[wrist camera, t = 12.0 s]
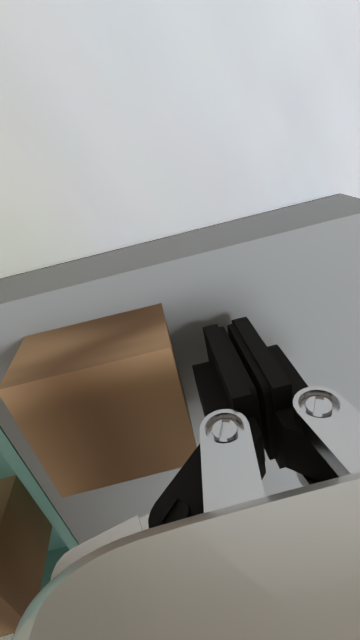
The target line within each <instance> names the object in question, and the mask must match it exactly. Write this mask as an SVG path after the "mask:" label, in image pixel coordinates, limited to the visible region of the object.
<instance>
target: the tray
mask: <svg viewBox="0 0 360 640" xmlns="http://www.w3.org/2000/svg"><path fill="white" fill-rule="evenodd" d="M14 475H17V476H18V478H19V479H20V481H21V482H22V484H23V485H24V486H25V488H26V489H27V491H28V492H29V493H30V495H31V496H32V498H33V499H34V500H35V502H36V503H37V505H38V506H39V507H40V509H41V510H42V512H43V513H44V514H45V516H46V517H47V519H48V520H49V522H50V523H51V524H52V531H51V536H50V541H49V546H48V552H47V557H46V562H45V567H44V572H43V578H42V583H41V588H40V591H41V590H42V589H43V588H44V587H45V586H46V585H47V584H48V583H49V582H50V581H51V575H52V572H53V570H54V568H55V566H56V563H57V562H58V561H59V560H60V558H61V557H62V556H63V555H64V554H65V553H66V552H68V551H69V550H71V549H72V548H74V547H76V546H77V545H79V543H78V541H77V540H76V538H75V537H74V535H73V534H72V532H71V531H70V529H69V528H68V526H67V525H66V523H65V522H64V520H63V519H62V517H61V516H60V514H59V513H58V511H57V510H56V508H55V507H54V505H53V504H52V502H51V501H50V499H49V498H48V496H47V495H46V493H45V492H44V490H43V489H42V487H41V486H40V484H39V483H38V481H37V480H36V478H35V477H34V475H33V474H32V472H31V471H30V469H29V468H28V466H27V465H26V463H25V462H24V460H23V459H22V457H21V456H20V454H19V453H18V451H17V450H16V448H15V447H14V445H13V444H12V442H11V441H10V439H9V438H8V436H7V435H6V433H5V432H4V430H3V429H2V427H1V426H0V479H3V478H7V477H10V476H14Z"/></svg>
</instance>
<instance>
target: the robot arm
mask: <svg viewBox="0 0 360 640" xmlns="http://www.w3.org/2000/svg"><path fill="white" fill-rule="evenodd" d="M227 329H228V334H227V332H226V330H225V328H224V326H221V327H218V325H217V324H214V325H210V326H206V327H203V333H204V338H205V343H206V349H207V354H208V359H209V361H208V362H204V363H200V364H196V365H192V369H193V373H194V377H195V382H196V386H197V390H198V394H199V398H200V402H201V405H202V409H203V412H204V416H205V418H204V419H203V421H202V423H201V424H200V444H199V445H198V447H197V448H196V449H195V451H194V452H193V453H192V455H191V456H190V457H189V459H188V460H187V461H186V462H185V464H184V465H183V466H182V468H181V469H180V470H179V472H178V473H177V474H176V476H175V477H174V478H173V480H172V481H171V482H170V484H169V485H168V486H167V488H166V489H165V490H164V492H163V493H162V494H161V496H160V497H159V498H158V500H157V501H156V502H155V504H154V506H153V507H152V509H151V511H150V513H149V514H147V515H145V516H143V517H141V518H139V517H138V515H136V516H134V517H132V518H130V519H128V520H126V521H124V522H122V523H120V524H119V525H117V526H115V527H113V528H111V529H109V530H107V531H105V532H103V533H101V534H99V535H97V536H95V537H93V538H91V539H89V540H87V541H85V542H83V543H81V544H79V545H77V546H76V547H74V548H72V549H71V550H69V551H68V552H66V553H65V554H64V555H63V556H62V557H61V558H60V560H59V561H58V562H57V563H56V566H55V568H54V570H53V572H52V575H51V581H50V582H49V583H48V584H47V585H46V586H45V587H44V588H43V589H42V590H41V591H40V592H39V593H38V594H37V595H36V596H35V598H34V599H33V600H32V601H31V603H30V604H29V606H28V607H27V609H26V610H25V612H24V614H23V616H22V617H21V619H20V621H19V623H18V626H17V628H16V631H15V633H14V635H13V638H12V640H360V412H359V411H358V410H357V409H356V408H354V407H353V406H352V405H351V404H350V403H349V402H348V401H347V400H346V399H344V398H343V397H342V396H341V395H340V394H338V393H337V392H336V391H334V390H332V389H329V388H326V387H320V386H311V387H308V385H307V384H306V383H305V381H304V380H303V378H302V377H301V376H300V374H299V373H298V372H297V370H296V369H295V367H294V366H293V365H292V363H291V362H290V361H289V359H288V358H287V357H286V355H285V354H284V352H283V351H282V350H281V348H280V347H279V346H278V345H272V346H268V347H267V346H266V344H265V343H264V341H263V340H262V339H261V337H260V336H259V334H258V333H257V331H256V330H255V328H254V327H253V325H252V324H251V322H250V321H249V319H248V318H247V317H242V318H238V319H234V320H232V324H229V325H227ZM264 449H265V451H266V453H267V456H268V458H269V459H270V460H273V459H275V460H276V462H277V464H278V466H279V469H281V468H285V467H286V468H288V469H291V470H293V471H295V472H296V474H297V477H298V479H299V481H300V483H301V484H302V486H303V487H299V488H296V489H292V490H288V491H284V492H280V493H277V494H273V495H269V496H265V493H264V489H263V484H262V479H263V477H264V476H265V474H266V467H265V452H264Z"/></svg>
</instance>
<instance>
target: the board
mask: <svg viewBox="0 0 360 640" xmlns="http://www.w3.org/2000/svg"><path fill="white" fill-rule="evenodd" d="M159 303H162V307H163V311H164V315H165V319H166V323H167V326H168V330H169V334H170V338H171V342H172V346H173V350H174V354H175V358H176V362H177V366H178V370H179V374H180V378H181V381H182V385H183V389H184V393H185V397H186V401H187V405H188V410H189V414H190V418H191V423H192V427H193V432H194V436H195V441H196V445H197V447H198V445H199V444H200V424H201V423H202V421H203V419H204V418H205V416H204V412H203V409H202V405H201V402H200V398H199V394H198V390H197V386H196V382H195V377H194V373H193V369H192V365H196V364H200V363H204V362H208V361H209V359H208V354H207V349H206V343H205V338H204V333H203V327H206V326H210V325H214V324H217V325H218V327H221V326H224V328H225V330H226V332H227V334H228V329H227V325H229V324H232V320H234V319H238V318H242V317H247V318H248V319H249V321H250V322H251V324H252V325H253V327H254V328H255V330H256V331H257V333H258V334H259V336H260V337H261V339H262V340H263V341H264V343H265V344H266V346H267V347H268V346H272V345H278V346H279V347H280V348H281V350H282V351H283V352H284V354H285V355H286V357H287V358H288V359H289V361H290V362H291V363H292V365H293V366H294V367H295V369H296V370H297V372H298V373H299V374H300V376H301V377H302V378H303V380H304V381H305V383H306V384H307V385H308V387H311V386H320V387H326V388H329V389H332V390H334V391H336V392H337V393H338V394H340V395H341V396H342V397H343V398H344V399H346V400H347V401H348V402H349V403H350V404H351V405H352V406H353V407H354V408H356V409H357V410H358V411H359V412H360V199H359V198H355V197H351V196H347V195H344V194H337V195H333V196H329V197H325V198H321V199H317V200H313V201H309V202H305V203H301V204H297V205H293V206H289V207H285V208H281V209H277V210H273V211H269V212H265V213H261V214H257V215H253V216H249V217H245V218H241V219H237V220H233V221H229V222H225V223H221V224H217V225H213V226H209V227H205V228H201V229H197V230H193V231H189V232H186V233H182V234H178V235H174V236H170V237H166V238H162V239H158V240H154V241H150V242H146V243H142V244H138V245H134V246H130V247H126V248H122V249H118V250H114V251H110V252H106V253H102V254H98V255H94V256H90V257H86V258H82V259H78V260H74V261H70V262H66V263H62V264H58V265H54V266H50V267H46V268H42V269H38V270H34V271H30V272H26V273H22V274H18V275H14V276H10V277H6V278H2V279H0V383H1V381H2V379H3V377H4V375H5V374H6V372H7V370H8V368H9V366H10V364H11V362H12V360H13V358H14V356H15V354H16V353H17V351H18V349H19V347H20V345H21V343H22V341H23V339H24V337H25V336H28V335H32V334H36V333H41V332H45V331H49V330H53V329H57V328H61V327H65V326H69V325H73V324H77V323H82V322H86V321H90V320H94V319H98V318H102V317H106V316H110V315H114V314H118V313H123V312H127V311H131V310H135V309H139V308H143V307H147V306H151V305H155V304H159ZM0 426H1V427H2V429H3V430H4V432H5V433H6V435H7V436H8V438H9V439H10V441H11V442H12V444H13V445H14V447H15V448H16V450H17V451H18V453H19V454H20V456H21V457H22V459H23V460H24V462H25V463H26V465H27V466H28V468H29V469H30V471H31V472H32V474H33V475H34V477H35V478H36V480H37V481H38V483H39V484H40V486H41V487H42V489H43V490H44V492H45V493H46V495H47V496H48V498H49V499H50V501H51V502H52V504H53V505H54V507H55V508H56V510H57V511H58V513H59V514H60V516H61V517H62V519H63V520H64V522H65V523H66V525H67V526H68V528H69V529H70V531H71V532H72V534H73V535H74V537H75V538H76V540H77V541H78V543H79V544H81V543H83V542H85V541H87V540H89V539H91V538H93V537H95V536H97V535H99V534H101V533H103V532H105V531H107V530H109V529H111V528H113V527H115V526H117V525H119V524H120V523H122V522H124V521H126V520H128V519H130V518H132V517H134V516H136V515H138V517H139V518H141V517H143V516H145V515H147V514H149V513H150V511H151V509H152V507H153V506H154V504H155V502H156V501H157V500H158V498H159V497H160V496H161V494H162V493H163V492H164V490H165V489H166V488H167V486H168V485H169V484H170V482H171V481H172V480H173V478H174V477H175V476H176V474H177V473H178V472H179V470H180V469H181V468H182V467H181V468H177V469H174V470H170V471H166V472H162V473H158V474H154V475H150V476H146V477H142V478H138V479H134V480H130V481H126V482H122V483H119V484H115V485H111V486H107V487H103V488H99V489H95V490H91V491H87V492H83V493H79V494H75V495H71V496H67V497H64V498H62V497H61V495H60V494H59V492H58V490H57V489H56V487H55V486H54V484H53V482H52V481H51V479H50V477H49V476H48V474H47V472H46V471H45V469H44V467H43V466H42V464H41V462H40V461H39V459H38V458H37V456H36V454H35V453H34V451H33V449H32V448H31V446H30V444H29V443H28V441H27V439H26V438H25V436H24V434H23V433H22V431H21V430H20V428H19V426H18V425H17V423H16V421H15V420H14V418H13V416H12V415H11V413H10V411H9V410H8V408H7V406H6V405H5V403H4V402H3V400H2V398H1V397H0ZM264 452H265V467H266V474H265V476H264V477H263V479H262V484H263V489H264V493H265V496H269V495H273V494H277V493H280V492H284V491H288V490H292V489H296V488H299V487H303V486H302V484H301V483H300V481H299V479H298V477H297V474H296V472H295V471H293V470H291V469H288V468H286V467H285V468H281V469H279V466H278V464H277V462H276V460H275V459H273V460H270V459H269V458H268V456H267V453H266V451H265V449H264Z"/></svg>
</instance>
